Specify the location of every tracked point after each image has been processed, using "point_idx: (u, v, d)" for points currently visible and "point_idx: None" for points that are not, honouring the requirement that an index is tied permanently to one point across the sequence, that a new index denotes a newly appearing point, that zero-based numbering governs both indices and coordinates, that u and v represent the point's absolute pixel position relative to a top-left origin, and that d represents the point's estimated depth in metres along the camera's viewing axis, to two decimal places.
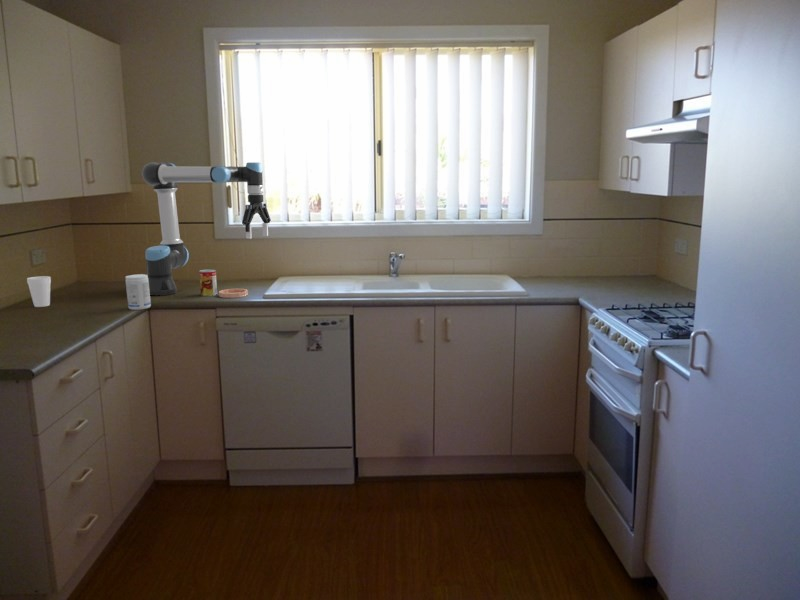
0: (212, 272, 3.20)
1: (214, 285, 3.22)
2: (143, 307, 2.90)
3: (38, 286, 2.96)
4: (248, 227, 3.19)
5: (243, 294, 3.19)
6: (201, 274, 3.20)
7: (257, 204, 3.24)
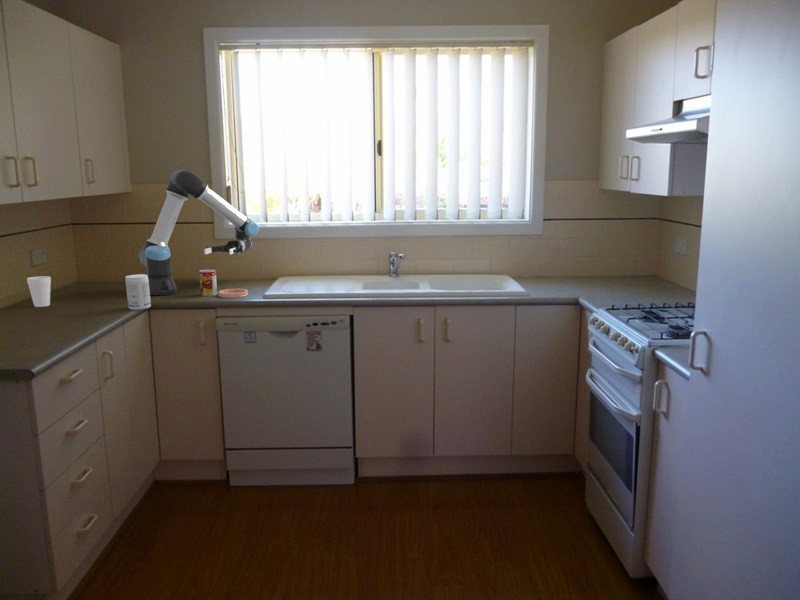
0: (212, 272, 3.20)
1: (214, 285, 3.22)
2: (143, 307, 2.90)
3: (38, 286, 2.96)
4: (236, 252, 3.36)
5: (243, 294, 3.19)
6: (201, 274, 3.20)
7: None
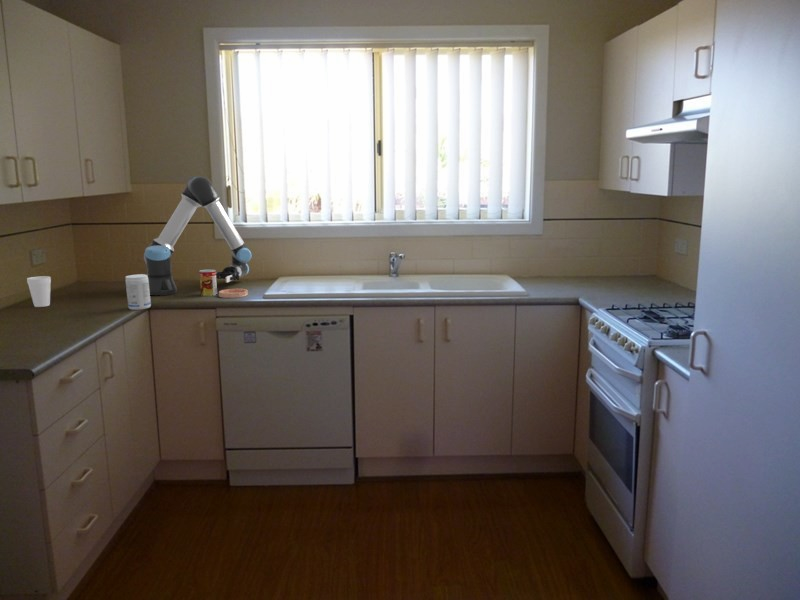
0: (212, 272, 3.20)
1: (214, 285, 3.22)
2: (143, 307, 2.90)
3: (38, 286, 2.96)
4: (232, 279, 3.31)
5: (243, 294, 3.19)
6: (201, 274, 3.20)
7: None
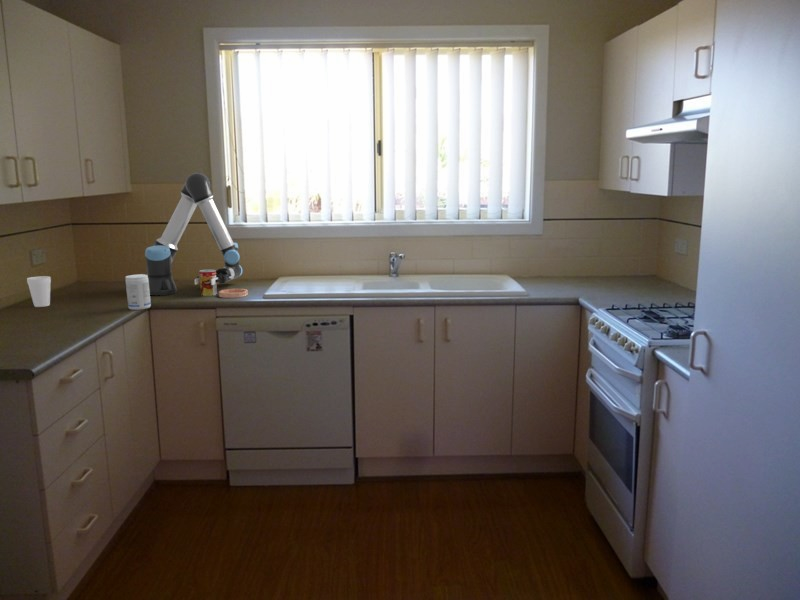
0: (212, 272, 3.20)
1: (214, 285, 3.22)
2: (143, 307, 2.90)
3: (38, 286, 2.96)
4: (218, 282, 3.23)
5: (243, 294, 3.19)
6: (201, 274, 3.20)
7: None
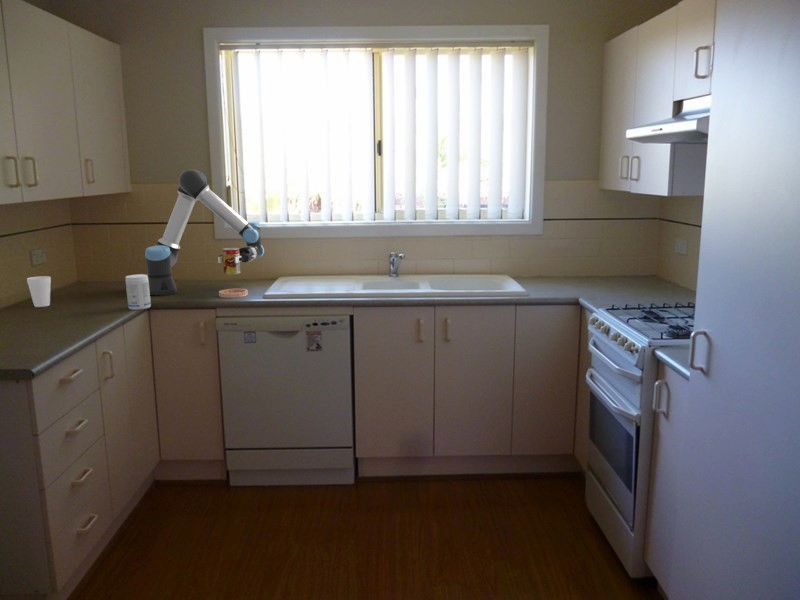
0: (236, 250, 3.16)
1: (237, 263, 3.18)
2: (143, 307, 2.90)
3: (38, 286, 2.96)
4: None
5: (243, 294, 3.19)
6: (224, 252, 3.15)
7: None
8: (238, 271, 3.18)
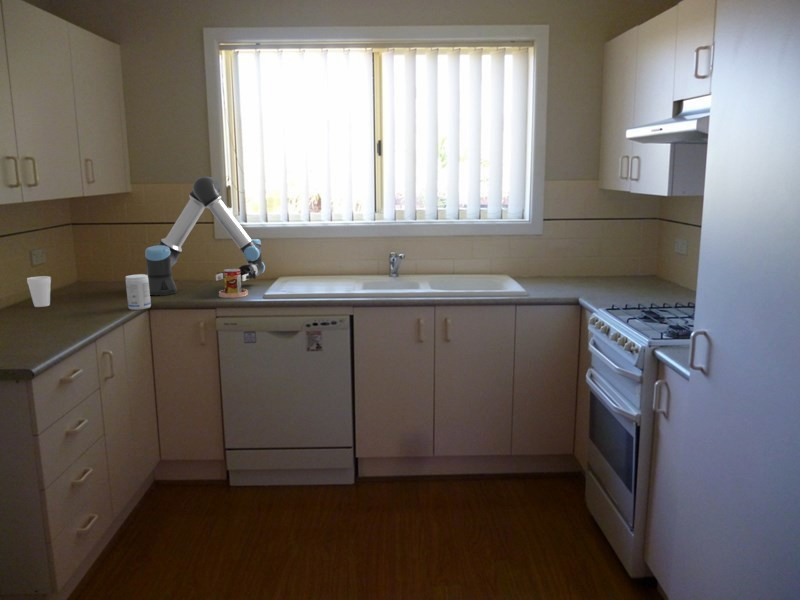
0: (237, 271, 3.18)
1: (239, 284, 3.20)
2: (143, 307, 2.90)
3: (38, 286, 2.96)
4: None
5: (243, 294, 3.19)
6: (226, 273, 3.17)
7: None
8: (239, 292, 3.20)
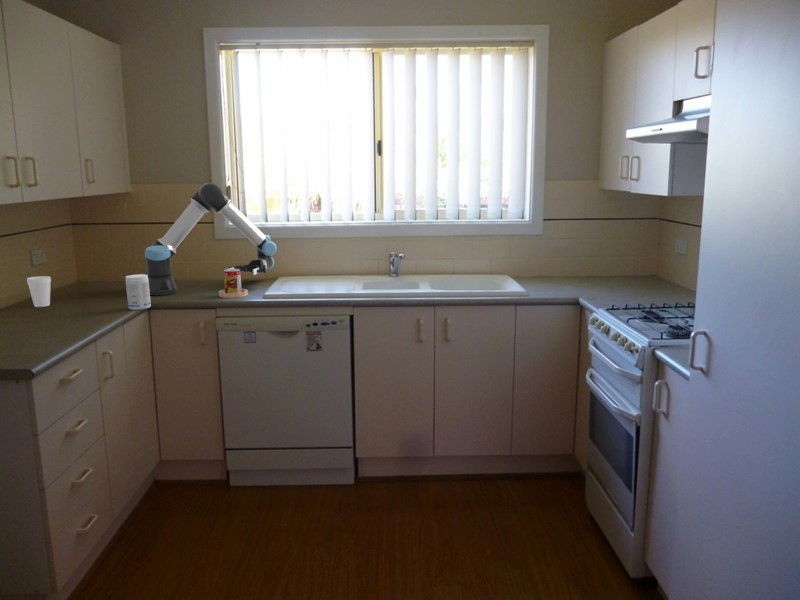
0: (237, 271, 3.18)
1: (239, 284, 3.20)
2: (143, 307, 2.90)
3: (38, 286, 2.96)
4: (259, 272, 3.34)
5: (243, 294, 3.19)
6: (226, 273, 3.17)
7: None
8: (239, 292, 3.20)
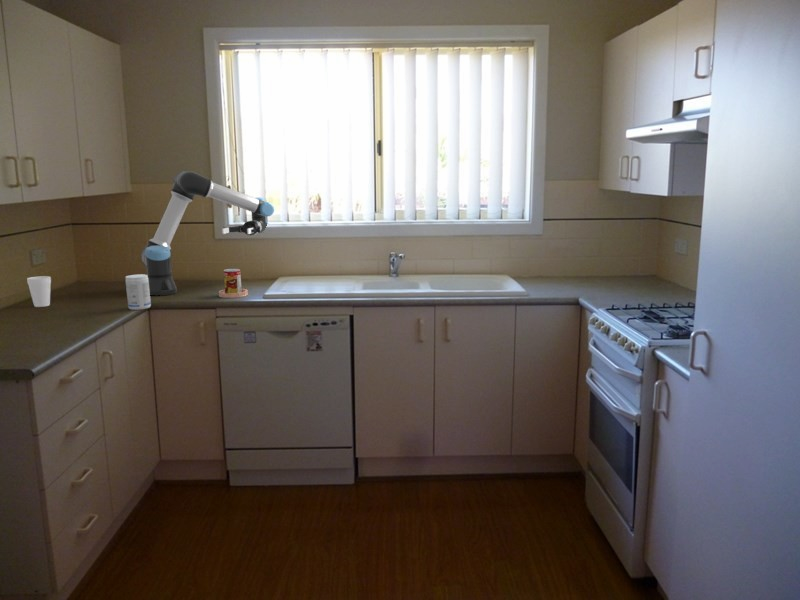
0: (237, 271, 3.18)
1: (239, 284, 3.20)
2: (143, 307, 2.90)
3: (38, 286, 2.96)
4: (253, 231, 3.35)
5: (243, 294, 3.19)
6: (226, 273, 3.17)
7: None
8: (239, 292, 3.21)
